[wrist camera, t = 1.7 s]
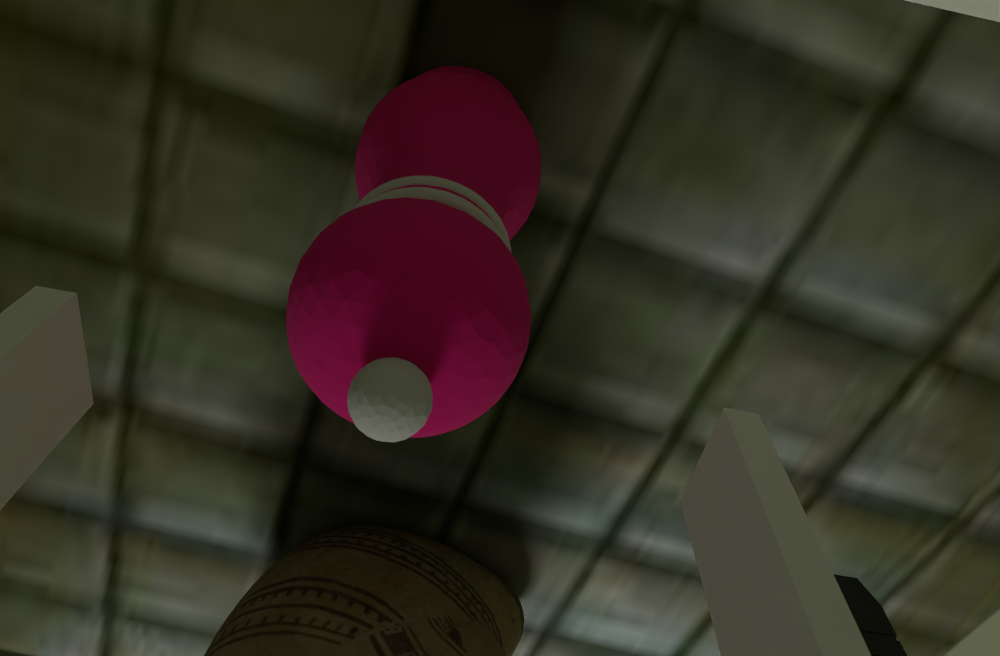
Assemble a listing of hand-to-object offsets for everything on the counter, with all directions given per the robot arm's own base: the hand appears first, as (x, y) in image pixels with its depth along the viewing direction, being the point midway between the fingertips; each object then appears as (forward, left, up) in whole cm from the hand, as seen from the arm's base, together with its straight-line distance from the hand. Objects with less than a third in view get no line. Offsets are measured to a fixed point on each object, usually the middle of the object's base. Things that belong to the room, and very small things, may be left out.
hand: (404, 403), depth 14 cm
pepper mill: (0, 0, -19) cm, 19 cm away
